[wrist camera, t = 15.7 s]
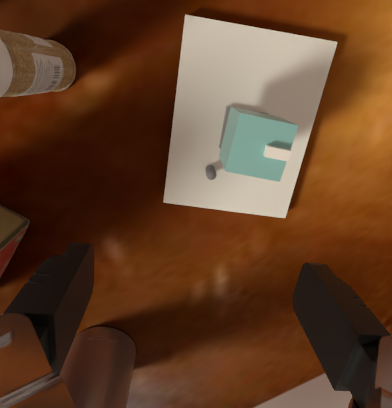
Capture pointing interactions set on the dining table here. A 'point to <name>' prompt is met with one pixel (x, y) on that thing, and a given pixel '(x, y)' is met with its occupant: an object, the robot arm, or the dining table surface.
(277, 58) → the stud board
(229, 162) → the mint cube with tab
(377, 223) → the dining table surface
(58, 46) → the sprinkles bottle
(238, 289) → the dining table surface
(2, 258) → the food packaging
